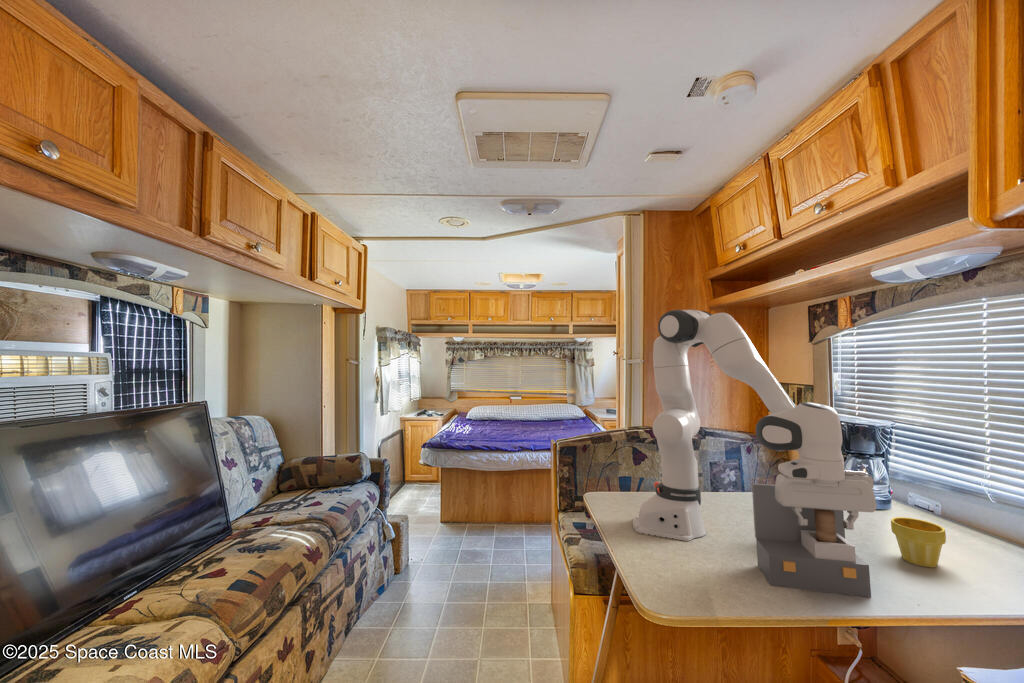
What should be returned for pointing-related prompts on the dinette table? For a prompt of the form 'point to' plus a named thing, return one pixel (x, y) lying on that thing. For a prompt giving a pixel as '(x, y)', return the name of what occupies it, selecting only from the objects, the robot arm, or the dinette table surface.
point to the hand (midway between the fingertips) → (825, 526)
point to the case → (804, 550)
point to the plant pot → (919, 540)
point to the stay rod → (825, 525)
